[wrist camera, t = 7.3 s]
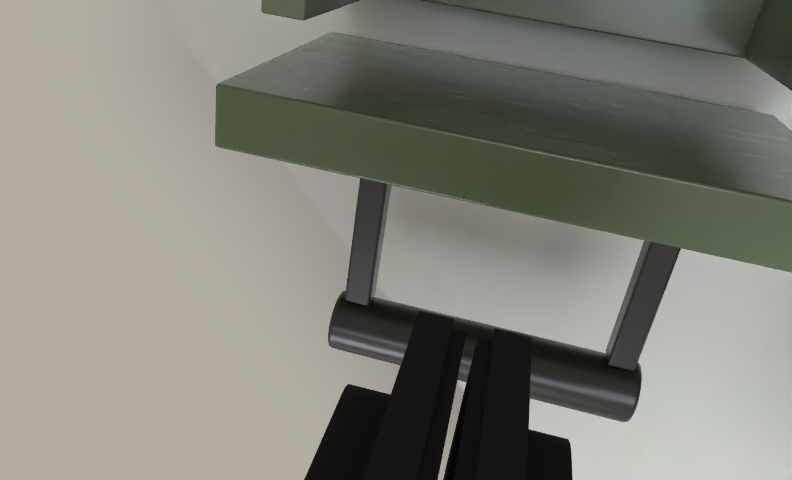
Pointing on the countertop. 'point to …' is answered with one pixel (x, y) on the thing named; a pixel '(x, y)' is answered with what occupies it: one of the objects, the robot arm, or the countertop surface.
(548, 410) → the countertop surface
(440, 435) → the robot arm
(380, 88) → the bin drawer
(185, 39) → the countertop surface
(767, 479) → the countertop surface
